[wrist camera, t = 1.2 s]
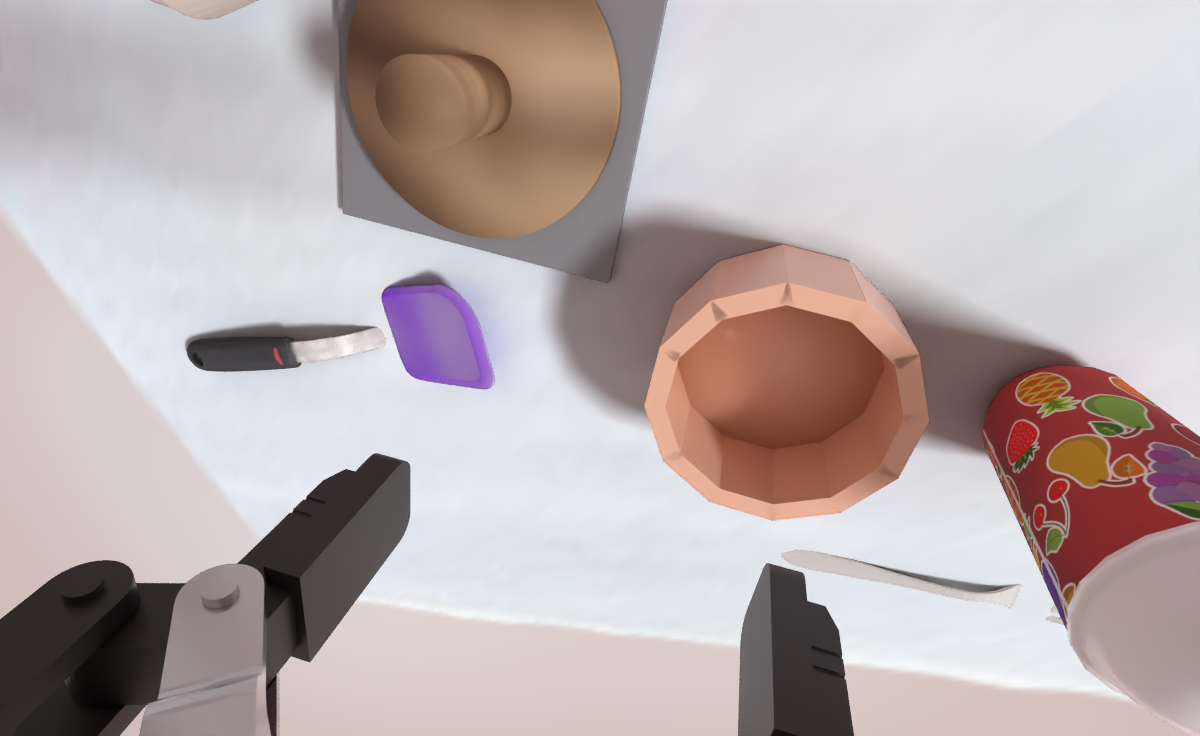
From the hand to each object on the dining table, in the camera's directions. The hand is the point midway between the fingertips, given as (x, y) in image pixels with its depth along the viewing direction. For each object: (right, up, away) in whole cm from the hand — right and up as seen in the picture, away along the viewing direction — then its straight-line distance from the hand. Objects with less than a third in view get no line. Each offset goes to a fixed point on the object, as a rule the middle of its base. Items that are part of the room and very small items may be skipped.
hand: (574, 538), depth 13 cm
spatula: (-17, +6, +28) cm, 33 cm away
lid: (-5, +17, +17) cm, 25 cm away
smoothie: (+24, +1, +19) cm, 30 cm away
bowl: (+10, +4, +20) cm, 23 cm away
